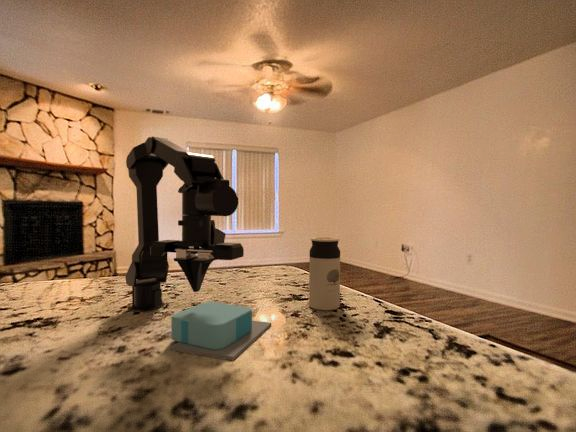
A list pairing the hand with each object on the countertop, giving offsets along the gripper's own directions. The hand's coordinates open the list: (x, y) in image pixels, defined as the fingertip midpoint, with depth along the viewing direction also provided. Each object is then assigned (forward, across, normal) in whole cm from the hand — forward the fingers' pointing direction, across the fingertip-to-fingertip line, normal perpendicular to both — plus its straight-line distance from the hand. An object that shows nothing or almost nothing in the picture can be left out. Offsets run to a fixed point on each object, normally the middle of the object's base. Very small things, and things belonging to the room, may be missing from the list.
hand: (196, 291), depth 69 cm
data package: (+6, +2, 0) cm, 6 cm away
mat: (+8, -7, 0) cm, 11 cm away
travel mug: (+9, -21, -27) cm, 35 cm away
